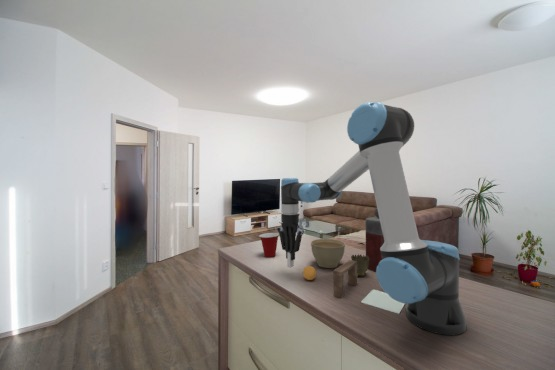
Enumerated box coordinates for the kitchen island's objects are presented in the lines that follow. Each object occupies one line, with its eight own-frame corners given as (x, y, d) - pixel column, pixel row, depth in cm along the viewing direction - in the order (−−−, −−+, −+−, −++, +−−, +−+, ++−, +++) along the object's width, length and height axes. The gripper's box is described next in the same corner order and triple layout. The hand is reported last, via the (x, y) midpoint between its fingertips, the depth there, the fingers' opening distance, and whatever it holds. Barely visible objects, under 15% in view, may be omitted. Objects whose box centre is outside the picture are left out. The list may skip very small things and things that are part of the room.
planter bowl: (344, 272, 113) (343, 248, 112) (308, 269, 118) (307, 245, 117) (346, 261, 128) (346, 239, 127) (314, 258, 133) (314, 237, 133)
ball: (318, 278, 106) (318, 266, 106) (311, 283, 102) (311, 269, 102) (307, 275, 110) (307, 263, 110) (300, 280, 106) (300, 267, 105)
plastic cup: (267, 251, 146) (267, 231, 145) (283, 255, 139) (283, 233, 139) (255, 256, 137) (255, 234, 137) (271, 260, 131) (271, 237, 130)
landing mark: (408, 299, 88) (408, 298, 88) (399, 314, 79) (399, 313, 79) (372, 289, 96) (372, 289, 96) (360, 302, 86) (360, 301, 86)
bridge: (357, 284, 101) (357, 261, 100) (341, 298, 89) (341, 272, 89) (350, 282, 103) (349, 259, 102) (333, 296, 91) (333, 270, 91)
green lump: (370, 279, 105) (370, 260, 105) (352, 277, 107) (352, 259, 107) (368, 272, 113) (367, 254, 112) (350, 271, 114) (350, 253, 114)
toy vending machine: (398, 269, 116) (398, 207, 115) (382, 274, 110) (382, 209, 109) (381, 263, 123) (380, 206, 122) (365, 268, 118) (365, 207, 117)
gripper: (307, 213, 110) (307, 267, 111) (283, 211, 118) (284, 261, 119) (297, 215, 104) (298, 272, 105) (273, 213, 112) (273, 265, 113)
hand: (290, 266), depth 112 cm, fingers closed
